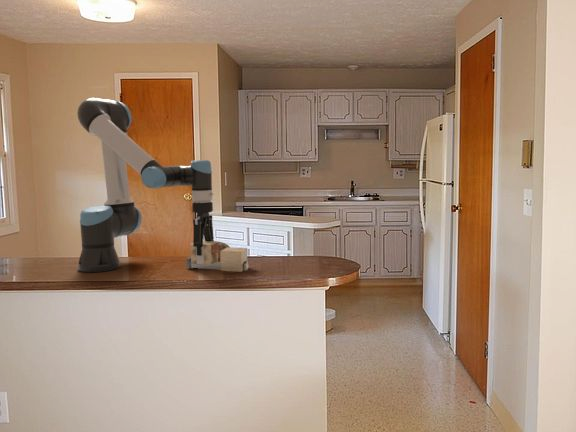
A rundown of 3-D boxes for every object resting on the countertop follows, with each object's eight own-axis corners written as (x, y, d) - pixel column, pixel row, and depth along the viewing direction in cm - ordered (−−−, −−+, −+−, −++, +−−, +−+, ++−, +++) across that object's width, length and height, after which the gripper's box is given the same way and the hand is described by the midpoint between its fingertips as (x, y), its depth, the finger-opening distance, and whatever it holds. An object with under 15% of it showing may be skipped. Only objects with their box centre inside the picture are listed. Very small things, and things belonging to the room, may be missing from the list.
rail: (185, 269, 195) (185, 249, 194) (193, 265, 202) (192, 246, 201) (244, 271, 190) (244, 251, 189) (250, 267, 197) (249, 248, 196)
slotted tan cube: (191, 264, 194) (190, 244, 193) (198, 260, 201) (197, 241, 200) (212, 264, 192) (212, 244, 191) (219, 260, 200) (218, 241, 199)
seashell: (222, 261, 205) (211, 239, 207) (208, 270, 210) (198, 248, 212) (239, 256, 214) (229, 235, 216) (225, 266, 219) (216, 244, 221)
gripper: (201, 204, 184) (204, 267, 186) (221, 199, 203) (222, 256, 206) (181, 204, 185) (184, 266, 188) (203, 199, 205) (205, 256, 208)
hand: (204, 261), depth 197 cm, fingers closed on slotted tan cube, 7 cm apart
